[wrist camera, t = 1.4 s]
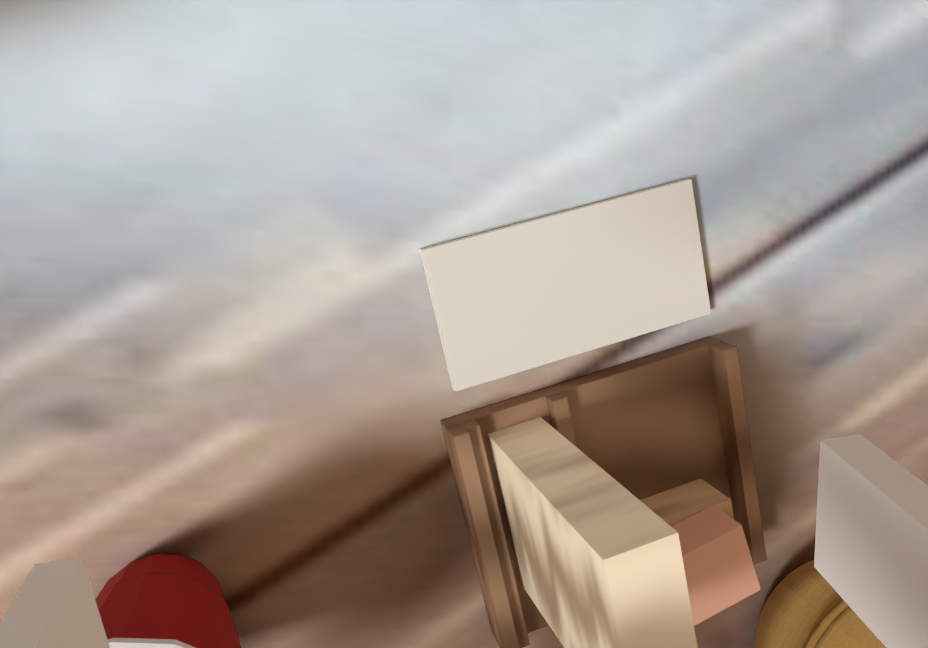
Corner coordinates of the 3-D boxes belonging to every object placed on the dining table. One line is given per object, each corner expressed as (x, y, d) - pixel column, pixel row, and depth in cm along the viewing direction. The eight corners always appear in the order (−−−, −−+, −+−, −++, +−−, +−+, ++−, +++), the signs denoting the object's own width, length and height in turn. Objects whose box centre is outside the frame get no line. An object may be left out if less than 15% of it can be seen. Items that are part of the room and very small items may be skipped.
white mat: (705, 311, 45) (711, 313, 45) (452, 388, 42) (455, 391, 42) (685, 178, 44) (691, 179, 43) (419, 249, 40) (421, 250, 40)
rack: (738, 539, 49) (766, 559, 47) (491, 632, 46) (507, 659, 43) (708, 336, 46) (736, 347, 43) (440, 420, 42) (453, 437, 40)
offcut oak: (711, 547, 47) (741, 572, 44) (618, 582, 46) (643, 610, 43) (700, 478, 46) (731, 499, 43) (605, 512, 45) (629, 535, 42)
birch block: (571, 566, 45) (712, 735, 32) (521, 584, 44) (644, 765, 31) (540, 416, 43) (678, 532, 29) (487, 434, 42) (603, 559, 29)
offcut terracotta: (732, 566, 44) (760, 589, 42) (661, 604, 43) (686, 630, 41) (713, 504, 43) (741, 524, 41) (640, 542, 42) (664, 565, 40)
